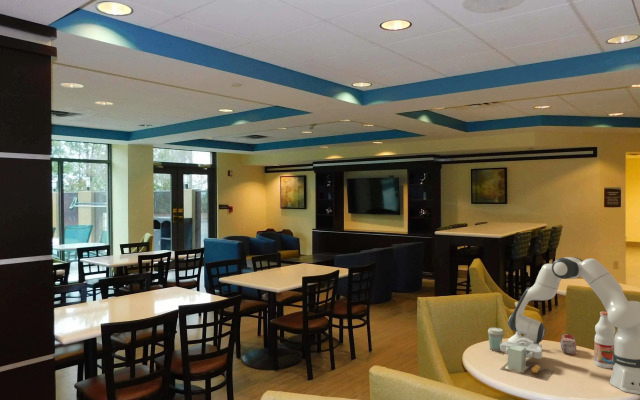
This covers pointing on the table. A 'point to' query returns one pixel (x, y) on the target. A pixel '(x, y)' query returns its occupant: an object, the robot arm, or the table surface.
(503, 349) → the robot arm
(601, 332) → the fruit juice
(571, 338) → the food item
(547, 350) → the table surface
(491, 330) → the coffee cup
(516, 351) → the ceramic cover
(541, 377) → the walnut board
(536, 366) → the amber marble
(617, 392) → the table surface
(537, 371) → the amber marble
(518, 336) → the flower in vase
